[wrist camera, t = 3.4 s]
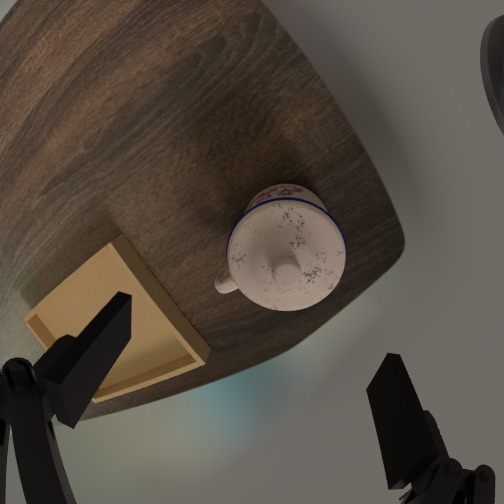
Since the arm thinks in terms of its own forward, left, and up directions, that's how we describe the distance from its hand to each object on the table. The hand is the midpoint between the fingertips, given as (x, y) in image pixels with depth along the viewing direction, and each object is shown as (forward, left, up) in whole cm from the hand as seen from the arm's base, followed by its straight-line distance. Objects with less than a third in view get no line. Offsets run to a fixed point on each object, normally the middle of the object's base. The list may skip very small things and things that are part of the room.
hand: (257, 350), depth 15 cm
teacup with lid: (0, 0, -19) cm, 19 cm away
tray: (+18, +18, -19) cm, 32 cm away
